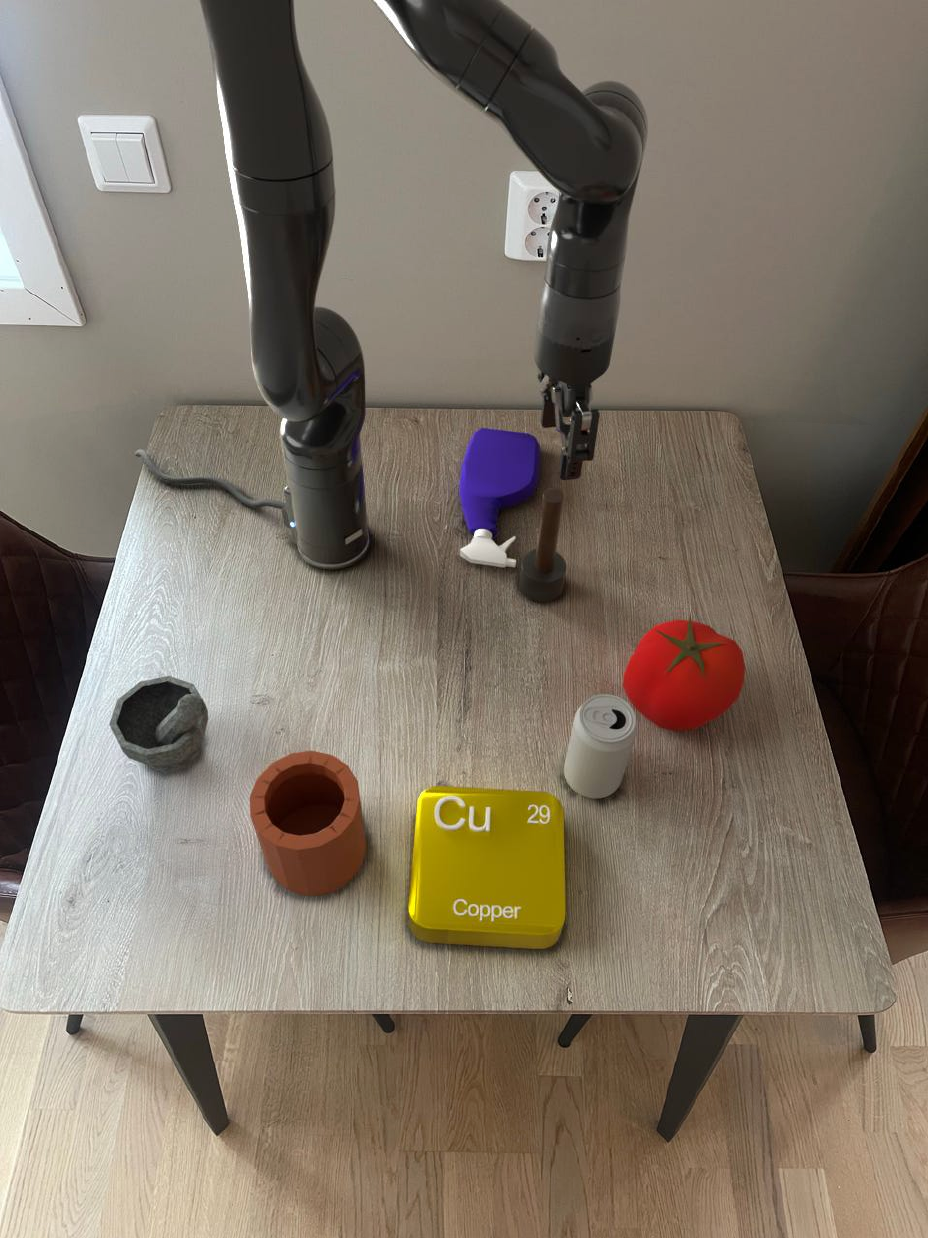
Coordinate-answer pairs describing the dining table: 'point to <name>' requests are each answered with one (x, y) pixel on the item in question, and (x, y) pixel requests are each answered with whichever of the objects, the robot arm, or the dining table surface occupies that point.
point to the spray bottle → (495, 488)
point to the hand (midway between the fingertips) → (559, 450)
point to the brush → (545, 554)
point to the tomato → (684, 675)
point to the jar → (309, 822)
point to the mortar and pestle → (160, 723)
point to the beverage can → (600, 745)
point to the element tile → (488, 868)
